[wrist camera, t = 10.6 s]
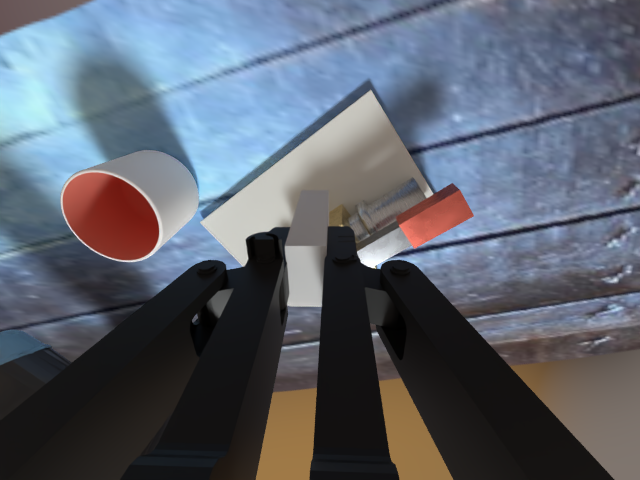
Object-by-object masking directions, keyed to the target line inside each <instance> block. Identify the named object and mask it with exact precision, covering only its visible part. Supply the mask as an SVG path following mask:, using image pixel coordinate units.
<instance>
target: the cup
mask: <svg viewBox="0 0 640 480" xmlns="http://www.w3.org/2000/svg"><path fill="white" fill-rule="evenodd" d="M60 201H61V209H62V213H63V216H64V218H65V221H66V223H67V224H68V226H69V228H70V229H71V231H72V232H73V233H74V234H75V236H76V237H77V238H78V239H79V240H80V241H81V242H82V243H83V244H84V245H86V246H87V247H88V248H90V249H91V250H93V251H94V252H96V253H98V254H100V255H102V256H104V257H106V258H109V259H112V260H116V261H121V262H136V261H141V260H144V259H146V258H148V257H150V256H151V255H153V254H154V253H155V252H156V251H157V250H158V249H159V248H160V247H161V246H163V245H164V244H165V243H166V242H167V241H168V240H169V239H170V238H171V237H172V236H173V235H174V234H176V233H177V232H178V231H179V230H180V229H181V228H182V227H183V226H184V225H185V224H186V223H188V222H189V221H190V220H191V219H192V217H193V216H194V215H195V213H196V211H197V208H198V204H199V192H198V188H197V184H196V182H195V180H194V178H193V176H192V174H191V173H190V172H189V170H188V169H187V168H186V167H185V166H184V165H183V164H182V163H181V162H180V161H178V160H177V159H175V158H174V157H172V156H170V155H168V154H166V153H163V152H160V151H155V150H142V151H137V152H134V153H131V154H128V155H125V156H122V157H119V158H116V159H113V160H111V161H108V162H105V163H102V164H99V165H96V166H93V167H90V168H87V169H85V170H82V171H79V172H77V173H75V174H73V175H72V176H71V177H70V178H69V179H68V180H67V181H66V183H65V184H64V186H63V188H62V192H61V198H60Z"/></svg>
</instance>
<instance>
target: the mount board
mask: <svg viewBox="0 0 640 480" xmlns="http://www.w3.org/2000/svg"><path fill="white" fill-rule="evenodd" d="M412 177H413V178H414V179H415V180H416V182H417V183H418V185H419V187H420V188H421V190H422V191H423V193H424V194H425V196H426V198H428V197H430V196H432V195H433V192H432V191H431V189H430V187H429V186H428V184H427V182H426V181H425V179H424V177H423V176H422V174H421V172H420V171H419V169H418V167H417V166H416V164H415V162H414V161H413V159H412V157H411V156H410V154H409V152H408V151H407V149H406V147H405V146H404V144H403V142H402V141H401V139H400V137H399V136H398V134H397V132H396V131H395V129H394V127H393V126H392V124H391V122H390V121H389V119H388V117H387V116H386V114H385V112H384V111H383V109H382V107H381V106H380V104H379V102H378V101H377V99H376V97H375V96H374V94H373V92H372V91H371V90H369V91H368V92H367V93H365V94H364V95H363V96H362V97H360V98H359V99H358V100H356V101H355V102H354V103H353V104H351V105H350V106H349V107H347V108H346V109H345V110H343V111H342V112H341V113H340V114H338V115H337V116H336V117H334V118H333V119H332V120H331V121H329V122H328V123H327V124H325V125H324V126H323V127H322V128H320V129H319V130H318V131H316V132H315V133H314V134H313V135H311V136H310V137H309V138H307V139H306V140H305V141H304V142H302V143H301V144H300V145H298V146H297V147H296V148H295V149H293V150H292V151H291V152H289V153H288V154H287V155H285V156H284V157H283V158H282V159H280V160H279V161H278V162H276V163H275V164H274V165H273V166H271V167H270V168H269V169H267V170H266V171H265V172H264V173H262V174H261V175H260V176H258V177H257V178H256V179H255V180H253V181H252V182H251V183H249V184H248V185H247V186H246V187H244V188H243V189H242V190H240V191H239V192H238V193H237V194H235V195H234V196H233V197H231V198H230V199H229V200H228V201H226V202H225V203H224V204H222V205H221V206H220V207H218V208H217V209H216V210H215V211H213V212H212V213H211V214H209V215H208V216H207V217H206V218H204V219H203V220H202V221H201V222H200V223H201V224H202V225H203V226H204V227H205V228H206V229H207V230H208V231H209V232H210V233H211V234H212V235H213V236H214V237H215V238H216V239H217V240H218V241H219V242H220V243H221V244H222V245H223V246H224V247H225V249H226V250H227V251H228V252H229V253H230V254H231V255H232V256H233V257H234V258H235V259H236V260H237V261H238V262H239V263H240V264H241V265H242V266H243V267H244V266H245V265H246V263H247V261H248V254H247V247H246V240H245V239H246V238H247V237H248V236H250V235H252V234H255V233H259V232H269V231H270V230H271V229H273V228H274V227H291V224H292V220H293V217H294V214H295V211H296V207H297V204H298V201H299V198H300V194H301V191H305V190H329V212H330V211H332V210H333V209H335V208H336V207H338V206H339V205H341V204H342V205H343V206H344V207H345V209H346V210H347V211H348V213H349V214H350V215H351V216H352V215H353V214H355V213H357V211H356V208H355V205H357V204H358V203H360V202H361V201H363V200H364V201H365V202H366V203H367V204H368V205H369V204H371V203H372V202H374V201H375V200H377V199H379V198H380V197H382V196H383V195H385V194H386V193H388V192H390V191H391V190H393V189H394V188H396V187H397V186H399V185H401V184H402V183H404V182H405V181H407V180H408V179H410V178H412ZM287 305H289V298H288V302H287Z"/></svg>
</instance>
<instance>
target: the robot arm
mask: <svg viewBox="0 0 640 480" xmlns="http://www.w3.org/2000/svg"><path fill="white" fill-rule="evenodd" d="M245 240H246V247H247V254H248V261H247V263H246V265H245V266H244V267H241V268H236V269H230V270H226V264H224V263H223V262H221V261H218V260H208V261H207V260H206V261H202V262H200V263H197V264H195V265H194V266H192V267H191V268H189V269H188V270H187V271H186V272H184V273H183V274H182V275H181V276H179V277H178V278H177V279H176V280H174V281H173V282H172V283H171V284H169V285H168V286H167V287H166V288H164V289H163V290H162V291H161V292H159V293H158V294H157V295H156V296H154V297H153V298H152V299H151V300H149V301H148V302H147V303H146V304H145V305H143V306H142V307H141V308H140V309H138V310H137V311H136V312H135V313H133V314H132V315H131V316H130V317H128V318H127V319H126V320H125V321H123V322H122V323H121V324H120V325H118V326H117V327H116V328H115V329H113V330H112V331H111V332H110V333H108V334H107V335H106V336H105V337H103V338H102V339H101V340H100V341H99V342H97V343H96V344H95V345H94V346H92V347H91V348H90V349H89V350H87V351H86V352H85V353H84V354H82V355H81V356H80V357H79V358H77V359H76V360H75V361H74V362H70V361H69V360H67V359H66V358H65V357H63V356H62V355H60V354H59V353H58V352H56V351H55V350H53V349H52V346H50V345H48V344H44V343H42V342H40V341H38V340H37V339H35V338H34V337H32V336H30V335H29V334H27V333H25V332H23V331H19V330H7V331H3V332H0V480H256V475H257V470H258V465H259V460H260V454H261V449H262V443H263V439H264V434H265V429H266V424H267V419H268V414H269V408H270V404H271V398H272V393H273V388H274V383H275V378H276V373H277V368H278V363H279V358H280V353H281V348H282V342H283V337H284V332H285V327H286V322H287V317H288V309H287V302H288V298H289V306H310V307H322V312H321V329H320V346H319V363H318V380H317V397H316V415H315V433H314V449H313V459H312V461H311V468H310V480H399V475H398V471H397V468H396V465H395V464H394V463H393V462H392V461H391V458H390V454H389V448H388V441H387V434H386V428H385V421H384V415H383V408H382V401H381V395H380V387H379V381H378V374H377V367H376V361H375V354H374V347H373V341H372V334H371V327H370V323H371V324H375V325H376V329H377V332H378V334H379V336H380V338H381V340H382V342H383V344H384V345H385V347H386V349H387V351H388V353H389V355H390V357H391V359H392V361H393V363H394V365H395V367H396V369H397V371H398V373H399V375H400V377H401V379H402V380H403V382H404V384H405V386H406V388H407V390H408V392H409V394H410V396H411V398H412V400H413V402H414V404H415V406H416V408H417V410H418V411H419V413H420V415H421V417H422V419H423V421H424V423H425V425H426V427H427V429H428V431H429V433H430V435H431V437H432V439H433V440H434V442H435V445H436V446H437V448H438V450H439V452H440V454H441V456H442V458H443V460H444V462H445V464H446V466H447V468H448V470H449V472H450V474H451V476H452V477H453V479H454V480H614V479H613V478H612V477H611V476H610V474H609V473H608V472H607V471H606V470H605V469H604V468H603V467H602V466H601V465H600V464H599V462H598V461H597V460H596V459H595V458H594V457H593V456H592V455H591V454H590V453H589V452H588V451H587V450H586V449H585V448H584V446H583V445H582V444H581V443H580V442H579V441H578V440H577V439H576V438H575V437H574V436H573V435H572V433H571V432H570V431H569V430H568V429H567V428H566V427H565V426H564V425H563V424H562V423H561V422H560V421H559V419H558V418H557V417H556V416H555V415H554V414H553V413H552V412H551V411H550V410H549V409H548V407H547V406H546V405H545V404H544V403H543V402H542V401H541V400H540V399H539V398H538V397H537V396H536V395H535V393H534V392H533V391H532V390H531V389H530V388H529V387H528V386H527V385H526V384H525V383H524V382H523V380H522V379H521V378H520V377H519V376H518V375H517V374H516V373H515V372H514V371H513V370H512V369H511V367H510V366H509V365H508V364H507V363H506V362H505V361H504V360H503V359H502V358H501V357H500V356H499V355H498V353H497V352H496V351H495V350H494V349H493V348H492V347H491V346H490V345H489V344H488V343H487V342H486V340H485V339H484V338H483V337H482V336H481V335H480V334H479V333H478V332H477V331H476V330H475V329H474V328H473V326H472V325H471V324H470V323H469V322H468V321H467V320H466V319H465V318H464V317H463V316H462V315H461V313H460V312H459V311H458V310H457V309H456V308H455V307H454V306H453V305H452V304H451V303H450V302H449V301H448V299H447V298H446V297H445V296H444V295H443V294H442V293H441V292H440V291H439V290H438V289H437V288H436V287H435V285H434V284H433V283H432V282H431V281H430V280H429V279H428V278H427V277H426V276H425V275H424V274H423V272H422V271H421V270H420V269H419V268H418V267H417V266H415V265H414V264H412V263H409V262H407V261H402V260H391V261H387V262H385V263H384V264H382V266H381V269H376V268H372V267H368V266H366V265H364V264H362V263H361V260H360V258H359V256H358V255H357V249H356V242H355V234H354V230H352V229H351V228H350V227H349V226H329V190H305V191H301V194H300V198H299V201H298V204H297V207H296V211H295V214H294V217H293V220H292V224H291V227H274V228H273V229H271V230H270V231H269V232H259V233H255V234H252V235H250V236H248V237H247V238H246V239H245ZM196 314H197V315H198V319H197V320H196V321H195V322H194V323H192V319H193V318H194V316H195V315H196Z"/></svg>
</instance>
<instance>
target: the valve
mask: <svg viewBox="0 0 640 480" xmlns="http://www.w3.org/2000/svg"><path fill="white" fill-rule="evenodd" d="M425 199H426V196H425V194H424V193H423V191H422V190H421V188H420V187H419V185H418V183H417V182H416V180H415V179H414V178H413V177H412V178H410V179H408V180H407V181H405V182H404V183H402V184H401V185H399V186H397V187H396V188H394V189H393V190H391V191H390V192H388V193H386V194H385V195H383V196H382V197H380V198H379V199H377V200H375V201H374V202H372V203H371V204H369V205H368V204H367V203H366V202H365V201H364V200H363V201H361V202H360V203H358V204H357V205H355V208H356V211H357V213H355V214H353V215H352V216H351V215H350V214H349V213H348V211H347V210H346V209H345V207H344V206H343V205H342V204H341V205H339V206H338V207H336V208H335V209H333V210H332V211H330V212H329V226H349V227H350V228H351V229H352V230H354V234H355V242H356V244H357V243H359V242H361V241H362V240H364V239H366V238H367V237H369V236H371V235H373V234H374V233H376V232H378V231H379V230H381V229H383V228H384V227H386V226H388V225H390V224H391V223H393V222H395V221H396V216H398V215H399V214H401V213H403V212H405V211H406V210H408V209H410V208H411V207H413V206H415V205H416V204H418V203H420V202H421V201H423V200H425ZM372 268H376V269H377V265H375V266H374V267H372Z"/></svg>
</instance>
